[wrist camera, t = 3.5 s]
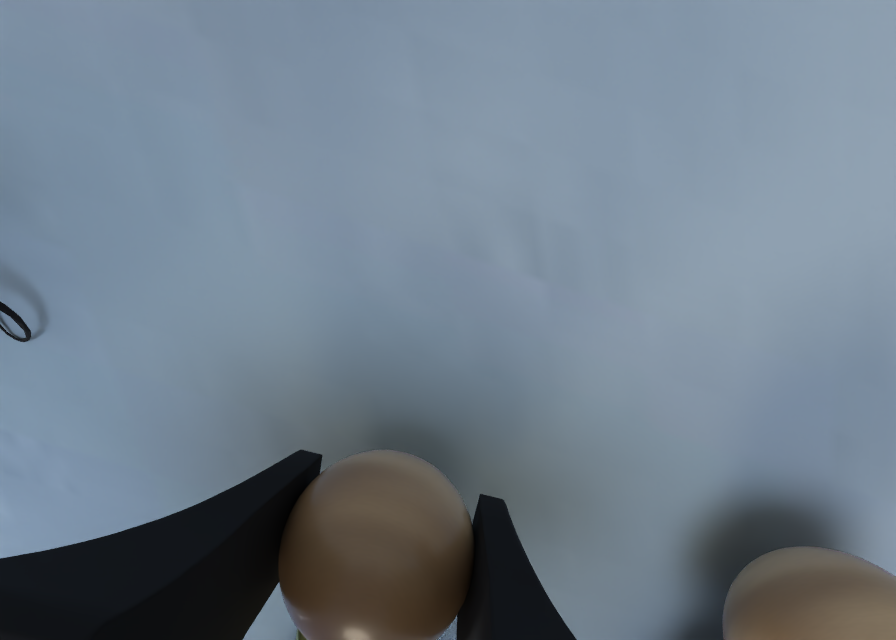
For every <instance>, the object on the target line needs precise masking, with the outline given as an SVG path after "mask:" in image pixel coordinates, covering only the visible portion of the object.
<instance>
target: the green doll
mask: <svg viewBox="0 0 896 640" xmlns="http://www.w3.org/2000/svg"><path fill="white" fill-rule="evenodd" d="M474 555H475V540H474V532H473V527H472V522H471V519H470V515H469V513H468V510H467V508H466V505H465V503H464V501H463V499H462V497H461V495H460V494H459V492H458V491H457V489H456V488H455V486H454V485H453V484H452V483H451V481H450V480H449V479H448V478H447V477H446V476H445V475H444V474H443V473H442V472H441V471H440V470H439V469H437V468H436V467H435V466H433V465H432V464H430V463H429V462H427V461H425V460H423V459H421V458H419V457H417V456H415V455H412V454H409V453H405V452H401V451H396V450H385V449H381V450H370V451H364V452H360V453H357V454H354V455H351V456H348V457H346V458H344V459H342V460H340V461H338V462H336V463H334V464H333V465H331V466H330V467H328V468H327V469H325V470H324V471H323V472H322V473H320V474H319V475H318V476H317V477H316V478H315V479H314V480H313V481H312V482H311V483H310V484H309V485H308V486H307V488H306V489H305V490H304V491H303V493H302V494H301V495H300V496H299V498H298V500H297V501H296V503H295V505H294V507H293V509H292V510H291V512H290V514H289V516H288V519H287V522H286V525H285V528H284V530H283V533H282V538H281V543H280V549H279V561H278V570H279V582H280V587H281V592H282V596H283V600H284V603H285V605H286V607H287V610H288V612H289V614H290V617H291V619H292V620H293V622H294V624H295V625H296V627H297V633H296V640H437V639H438V638H439V637H440V636H441V635H442V634H443V633H444V632H445V630H446V629H447V628H448V627H449V625H450V624H451V623H452V622H453V620H454V619H455V617H456V616H457V614H458V612H459V610H460V608H461V607H462V605H463V603H464V601H465V598H466V595H467V593H468V590H469V587H470V583H471V578H472V573H473V565H474Z"/></svg>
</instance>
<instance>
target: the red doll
mask: <svg viewBox="0 0 896 640" xmlns="http://www.w3.org/2000/svg"><path fill="white" fill-rule="evenodd" d="M723 638H724V640H896V576H894V575H893V574H891V573H889V572H888V571H886V570H884V569H883V568H881V567H879V566H877V565H875V564H873V563H871V562H869V561H866V560H864V559H862V558H859V557H856V556H854V555H851V554H848V553H844V552H841V551H838V550H833V549H827V548H821V547H812V546H797V547H787V548H782V549H777V550H774V551H771V552H768V553H766V554H764V555H761V556H759V557H758V558H756V559H755V560H753V561H752V562H750V563H749V564H748V565H747V566H745V568H744V569H743V570H742V571H741V572H740V573H739V574H738V576H737V577H736V578H735V580H734V581H733V583H732V585H731V587H730V589H729V591H728V594H727V597H726V600H725V604H724V609H723Z"/></svg>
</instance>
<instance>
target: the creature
mask: <svg viewBox="0 0 896 640" xmlns="http://www.w3.org/2000/svg"><path fill="white" fill-rule="evenodd" d="M0 310H1V311H2V312H4V313H5V314H7V315H8V316H10V317H11V318H12V319H13V320H14V321H15V322H16V323H17V324H18V325H19V326H20V327H21V328H22V329H23V330H24V332H25V335H26V338H24V339H18V338H15V337H14V336H12V335H11V334H9V333H8V332H7V331H6V330H5V329H4V328H3V327H2V326H1V324H0V328H1V329H2V330H3V331H4V332H5V333H6V334H7V335H9V336H10V337H12V338H13V339H15V340H18V341H20V342H26V341H28V340H29V339H30V337H31V331H30V329H29V328H28V327H27V325H26V324H25V323H24V321H23V320H22V319H21V317H20V316H19V315H17V314H16V313H15V312H14V311H12V310H11V309H10V308H9V307H8V306H6V305H5V304H3V303H2V302H0Z"/></svg>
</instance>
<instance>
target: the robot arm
mask: <svg viewBox="0 0 896 640" xmlns="http://www.w3.org/2000/svg"><path fill="white" fill-rule="evenodd" d="M321 462H322V455H321V454H317V453H313V452H309V451H304V450H299V451H297V452H295V453H294V454H292V455H290V456H288V457H287V458H285V459H283V460H281V461H280V462H278V463H276V464H274V465H273V466H271V467H269V468H267V469H266V470H264V471H262V472H260V473H258V474H257V475H255V476H253V477H251V478H249V479H247V480H246V481H244V482H242V483H240V484H238V485H236V486H234V487H232V488H230V489H228V490H226V491H224V492H222V493H220V494H218V495H216V496H214V497H212V498H209V499H207V500H205V501H203V502H201V503H199V504H196V505H194V506H192V507H189V508H187V509H184V510H182V511H179V512H177V513H174V514H171V515H169V516H166V517H164V518H161V519H158V520H155V521H152V522H149V523H146V524H143V525H140V526H137V527H133V528H130V529H127V530H124V531H121V532H118V533H115V534H111V535H108V536H104V537H100V538H96V539H93V540H89V541H85V542H81V543H77V544H72V545H68V546H64V547H59V548H55V549H50V550H45V551H40V552H35V553H29V554H23V555H18V556H12V557H7V558H1V559H0V640H242V639H243V638H244V636H245V634H246V633H247V631H248V629H249V628H250V626H251V625H252V623H253V622H254V620H255V619H256V617H257V615H258V614H259V612H260V611H261V609H262V608H263V606H264V604H265V603H266V601H267V600H268V598H269V597H270V595H271V594H272V592H273V590H274V589H275V587H276V586H277V584H278V583H279V570H278V561H279V549H280V543H281V538H282V533H283V530H284V528H285V525H286V522H287V519H288V516H289V514H290V512H291V510H292V509H293V507H294V505H295V503H296V501H297V500H298V498H299V496H300V495H301V494H302V493H303V491H304V490H305V489H306V488H307V486H308V485H309V484H310V483H311V482H312V481H313V480H314V479H315V478H316V477H317V476H318V475H319V474H320V469H321ZM472 527H473V532H474V540H475V555H474V565H473V573H472V578H471V583H470V587H469V590H468V593H467V595H466V598H465V601H464V603H463V605H462V607H461V608H460V610H459V612H458V614H457V639H456V640H577V639H576V638H575V637H574V635H573V634H572V633H571V631H570V630H569V628H568V627H567V626H566V624H565V623H564V621H563V619H562V618H561V616H560V615H559V613H558V612H557V610H556V609H555V607H554V605H553V604H552V602H551V600H550V599H549V597H548V595H547V594H546V592H545V590H544V588H543V586H542V585H541V583H540V581H539V579H538V577H537V575H536V574H535V572H534V570H533V568H532V566H531V564H530V562H529V559H528V557H527V555H526V553H525V551H524V549H523V547H522V544H521V542H520V540H519V538H518V535H517V533H516V530H515V528H514V525H513V523H512V520H511V518H510V515H509V512H508V509H507V506H506V504H505V502H504V500H503V499H499V498H495V497H491V496H487V495H483V494H480V496H479V500H478V504H477V508H476V512H475V516H474V519H473V523H472Z"/></svg>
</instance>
